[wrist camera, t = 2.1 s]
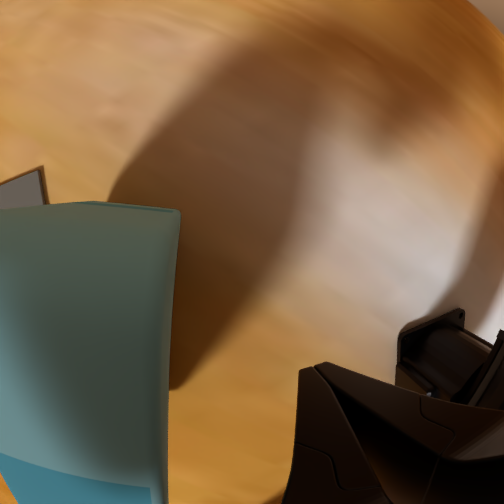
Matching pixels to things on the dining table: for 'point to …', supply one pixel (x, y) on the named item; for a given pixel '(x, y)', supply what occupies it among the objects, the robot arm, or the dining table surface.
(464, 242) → the dining table surface
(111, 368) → the data package
